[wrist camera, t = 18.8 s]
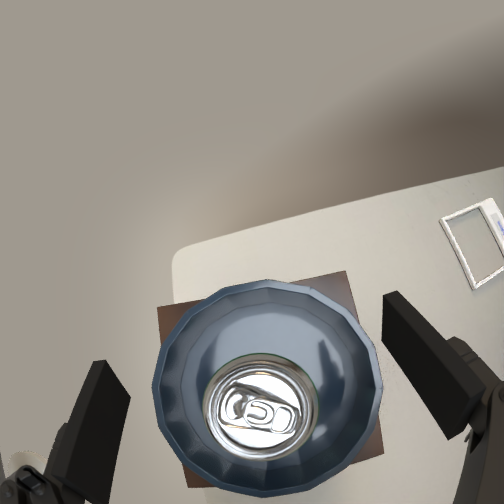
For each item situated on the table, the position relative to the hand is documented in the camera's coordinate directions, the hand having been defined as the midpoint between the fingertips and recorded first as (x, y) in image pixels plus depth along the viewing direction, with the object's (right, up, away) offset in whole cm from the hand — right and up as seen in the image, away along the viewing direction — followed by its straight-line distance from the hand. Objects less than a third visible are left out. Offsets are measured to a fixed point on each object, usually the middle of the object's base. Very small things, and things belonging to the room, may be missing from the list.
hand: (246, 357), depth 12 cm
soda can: (+2, -6, +9) cm, 11 cm away
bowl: (+2, -6, +9) cm, 11 cm away
